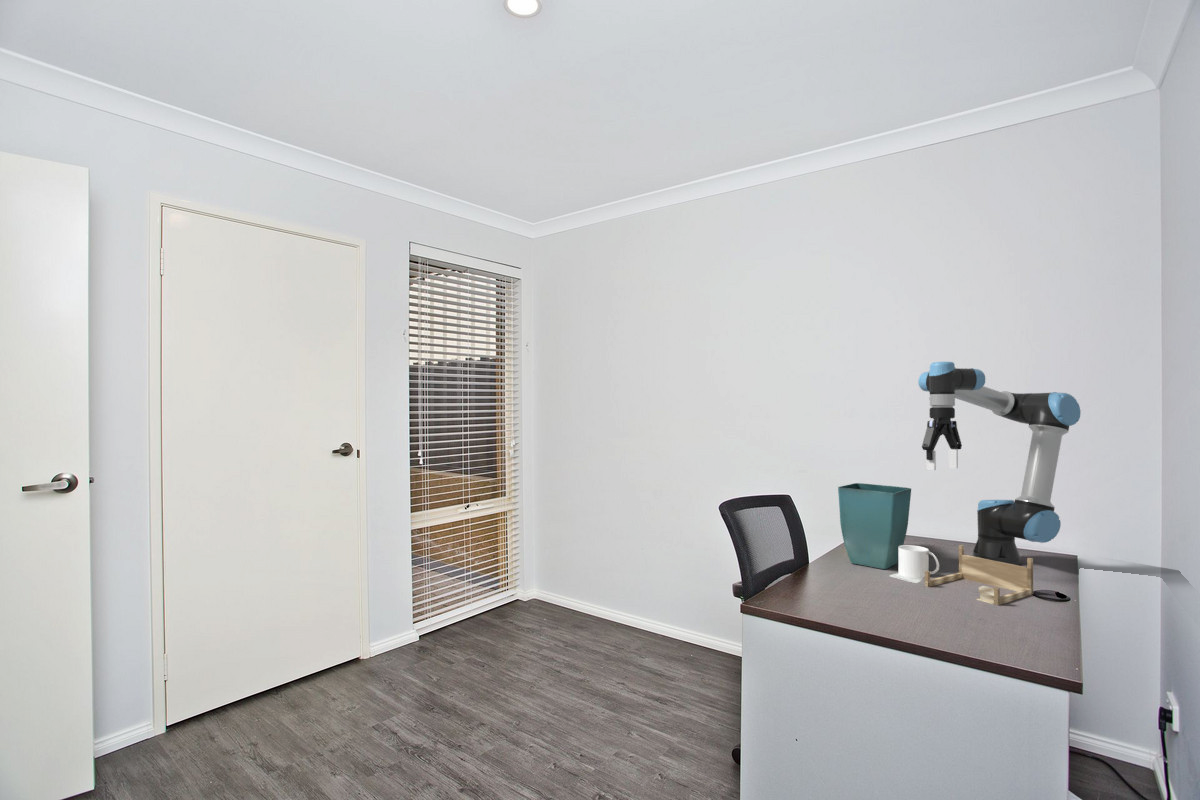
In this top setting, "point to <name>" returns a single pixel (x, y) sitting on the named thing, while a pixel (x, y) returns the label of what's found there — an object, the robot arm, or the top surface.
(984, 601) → the offcut
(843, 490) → the flower pot
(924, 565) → the mug
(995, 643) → the top surface
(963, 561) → the frame
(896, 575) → the felt mat
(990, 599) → the offcut
